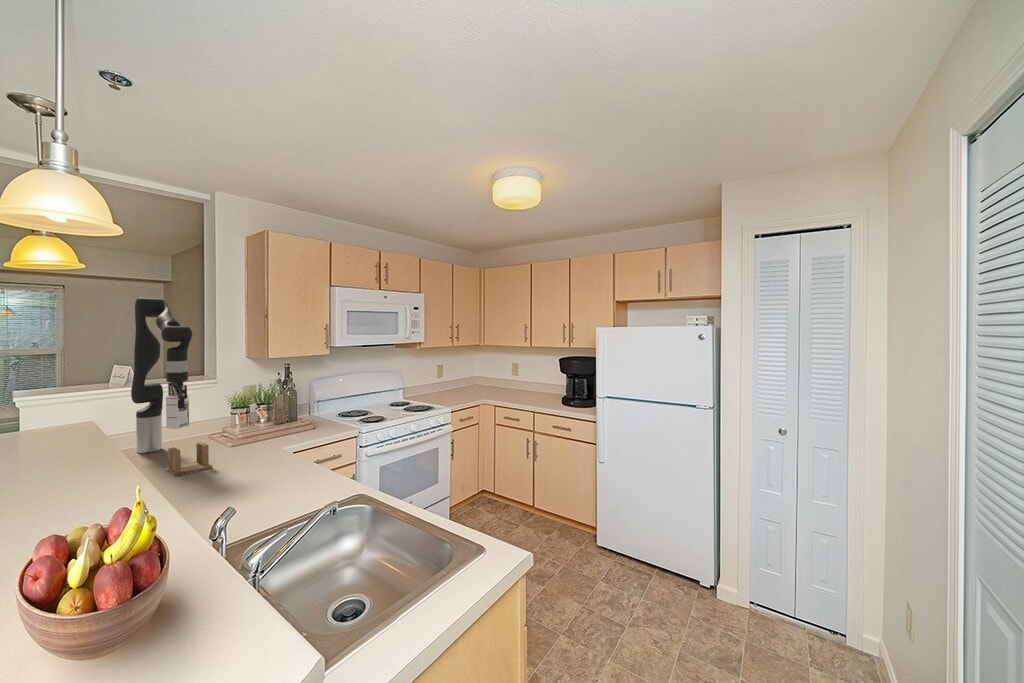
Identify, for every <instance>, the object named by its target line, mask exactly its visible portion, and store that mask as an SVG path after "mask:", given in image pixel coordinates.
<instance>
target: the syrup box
mask: <svg viewBox="0 0 1024 683" xmlns="http://www.w3.org/2000/svg"><path fill="white" fill-rule="evenodd" d="M181 396H182V395H181ZM189 399H190V398H189V394H187V399H185V400H184V408H181V409H179V408H178V399H177V396H175V395H172V396H169V395H167V396H165V419H166V421H165V423H166V425H165V426H166V427H165V428H166V429H170V430H172V429H176V430H178V429H182V428H185V427H188V426H190V407H189V406H190V402H189V401H190V400H189Z"/></svg>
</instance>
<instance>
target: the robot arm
mask: <svg viewBox="0 0 1024 683" xmlns="http://www.w3.org/2000/svg"><path fill="white" fill-rule="evenodd" d="M146 318H156V319H155V324H156V326H157V328H159V330H160V331H161V333H160V334H161V335H160V336H161V339H162V340H163V341H164V342H167V343H179V344H178V345H177V346H173V347H169V348H167V350H166V367H165V373H166V374H165V375H166V376H165V379H166V381H165V382H167V383H168V384H167V387H168V388H167V391H168V393H167V394H168V395H167V396H172V395H175V396H177V399H178V408H179V409H181V408H184V400H185V399H187V395H188V386H187V385H186V384H184V382H188V381H189V363H188V351H189V346H190V343H191V341H192V337H193V331H192V329H191V328H190V327H189V326H184V325H183V326H181V325H180V322H179V321H178V320H176V319H175V317H174V316H173V314H172V312H171V310H170V308H169V306H168V303H167V302H166V301H165V299H162V298H156V297H155V298H154V297H143V296H142V297H137V298H136V299H135V302H134V319H135V320H134V322H135V338H134V339H135V340H134V347H133V348H134V350H133V351H134V354H133V356H134V360H133V361H134V363H133V364H134V365H133V377H132V381H131V382H132V383H131V384H132V385H131V389H130V390H131V392H130V394H131V395H130V397H131V400H132V402H133V403H134V404H135V405H138V404H145V403H146V404H147V403H149V404H148V405H145V407H142V408H141V409H139V410H137V411H136V413H135V418H136V419H135V423H136V424H135V426H136V428H135V429H136V453H137V452H138V454H148V453H147V452H149V453H154V452H159V451H161V450H162V449H163V435H162V434H163V432H162V431H163V430H162V428H163V425H162V424H163V423H162V422H163V421H162V415H163V413H162V411H163V405H164V404H163V403H164V402H163V399H164V389H163V386H162V384H161V383H159V382H150V383H146V380H147V379H146V378H147V376H148V374H149V373H150V371H151V370H152V369H153V368H154V367H155V365H156V364H157V363H158V361H159V359H160V357H161V343H160V340H159V339H158V338H157V337H156V336H155V335H154V333H153V332H152V331H151V329H150V327H149V326H148V324H147V319H146ZM181 395H182V396H181ZM160 449H161V450H160Z"/></svg>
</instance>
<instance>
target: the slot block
mask: <svg viewBox="0 0 1024 683" xmlns="http://www.w3.org/2000/svg"><path fill="white" fill-rule="evenodd" d="M195 446H196V447H195V448H196V461H191V462H186V463H183V464H181V460H182V459H181V450H180V449H179V448H176V447H174V446H173V447H169V448H167V453H168V454H167V455H168V456H167V459H168V460H167V462H168V463H167V467H166V468H164V472H166V471H167V472H166V473H168V472H169V473H168V474H169V475H171V474H172V476H173V475H174V476H173V477H175V478H176V476H177V477H180V475H181V476H184V475H183V474H185V475H188V474H187V473H189V474H192V473H191V472H193V473H196V472H195V471H197V472H200V471H199V470H201V471H204V470H203V469H206V470H208V468H210V469H213V465H212V464H210V463H209V461H210V459H209V458H210V457H209V456H210V455H209V444H208V443H205V442H203V441H201V442H196V445H195Z"/></svg>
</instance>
